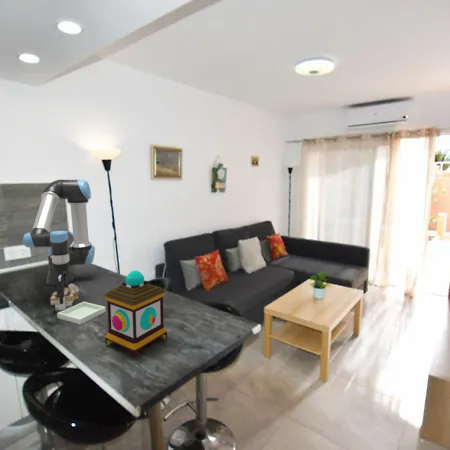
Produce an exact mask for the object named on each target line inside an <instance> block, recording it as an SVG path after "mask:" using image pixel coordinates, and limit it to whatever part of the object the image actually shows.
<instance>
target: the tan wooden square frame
mask: <svg viewBox="0 0 450 450" xmlns="http://www.w3.org/2000/svg"><path fill="white" fill-rule="evenodd" d="M67 293H68V296H65V303H71V302H72V303H74V300H79V293H78V292H75V290H69V291H67ZM56 297H57V291H54V292H53V293H52V295H51V297H50V305H51V306H52V305H54V306H55V304H59V303H58V298H56Z"/></svg>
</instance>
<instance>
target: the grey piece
mask: <svg viewBox="0 0 450 450" xmlns="http://www.w3.org/2000/svg"><path fill="white" fill-rule="evenodd" d="M67 290H68V288H67V287H64V296H68V293H67ZM70 307H73V302H71V303H65V310H66V309H68V308H70ZM54 308H55V312H57V313H59V312H61V311H63V310H59V304H54Z"/></svg>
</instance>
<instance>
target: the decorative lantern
mask: <svg viewBox="0 0 450 450" xmlns="http://www.w3.org/2000/svg"><path fill="white" fill-rule="evenodd" d="M165 295H166V290H164V289H163V288H162V287H160V286H157V285H153V284H152V283H149V281H148V280H146V279H145V276H144V274H143V273H142V272H141V271H139V270H135V269H134V270H132V271H130V272H129V273H128V274H127V275H126V277H125V281H124V282H122V284H119V286H117V287H116V288H112V289H110V290H109V291H108V292H106V294H104V296H103V297H104V299H105V300H106V302H107V321H108V322H107V323H108V331H107V333H106V335H105V338H104V341H105V345H106V346H110V344H111V343H114V344H116V345H118V346H120V347H122V348H124V349H126V350H129V351H130V352H131V353H132V357H133V358H134V359H137V357H138V352H139V351H140V350H141V349H143V348H144V347H146V346H148V345H149V344H151V343H152V342H155V341H157V339H159V338H161V337H162V338H163V340H166V339H168V330H167V329H166V327H165V325H164V297H165Z"/></svg>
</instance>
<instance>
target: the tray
mask: <svg viewBox="0 0 450 450" xmlns="http://www.w3.org/2000/svg"><path fill="white" fill-rule="evenodd" d="M106 312H107V307H106V306H104V305H101V304H100V305H99V304H96V303H91V302H87V301H82V302H80V303H77V304H75V305H72V307H70V308H68V309H66V310H63V311H61V312H57V313H56V317H57V319H59V320H62V321H65V322H69V323H72V324H77V325H83V324H86V323H87V322H89V321H91V320H92V319H95V318H96V317H99V316H100V315H102V314H105V313H106Z"/></svg>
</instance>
